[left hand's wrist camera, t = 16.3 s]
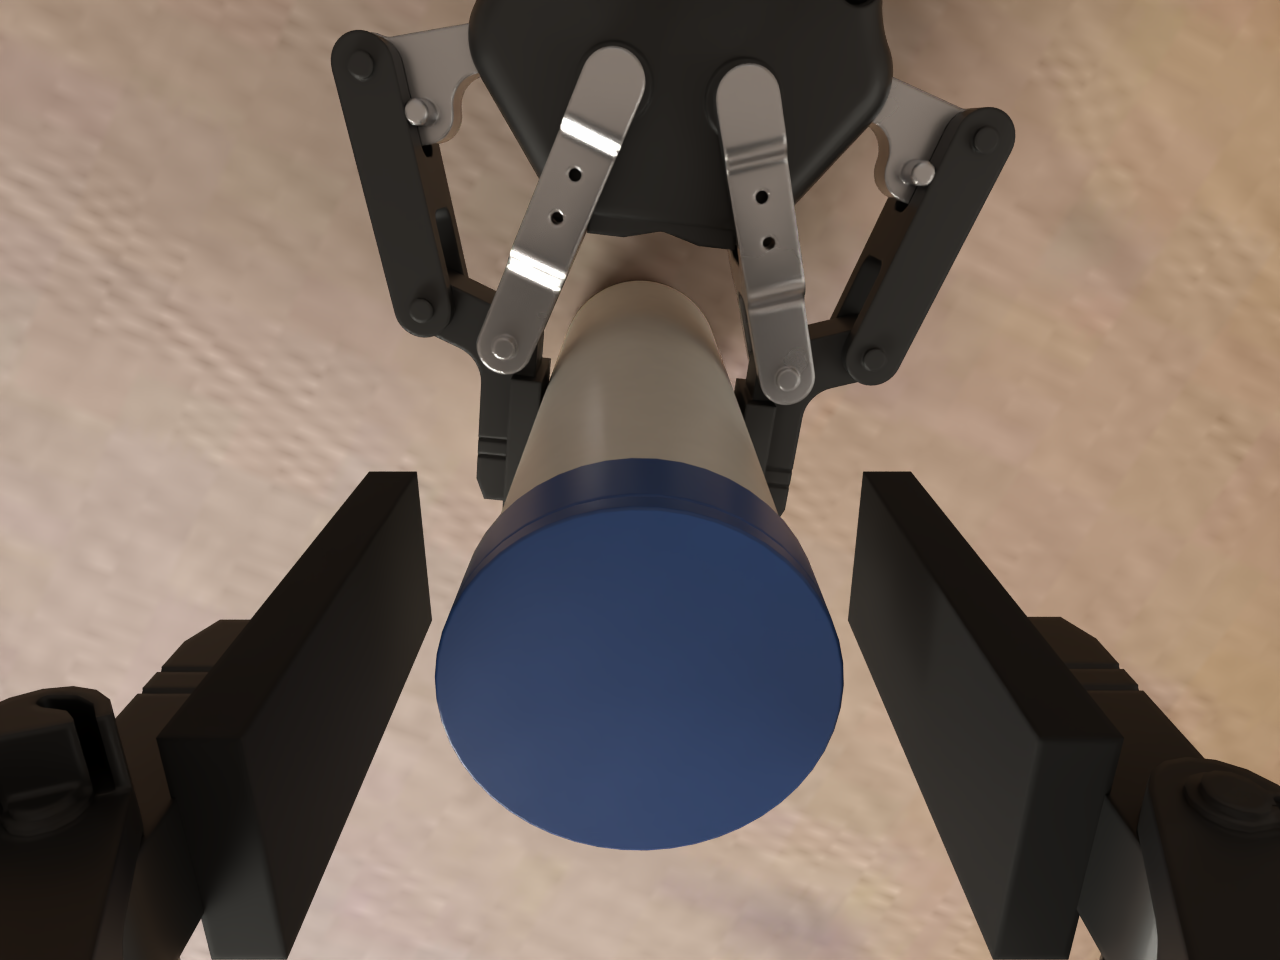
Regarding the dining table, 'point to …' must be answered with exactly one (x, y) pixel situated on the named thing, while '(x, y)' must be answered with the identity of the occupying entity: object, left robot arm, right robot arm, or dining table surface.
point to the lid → (639, 657)
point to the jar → (639, 393)
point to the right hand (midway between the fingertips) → (626, 520)
